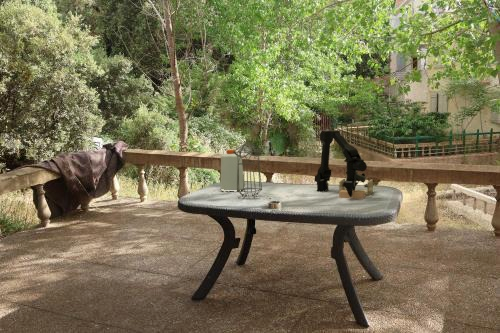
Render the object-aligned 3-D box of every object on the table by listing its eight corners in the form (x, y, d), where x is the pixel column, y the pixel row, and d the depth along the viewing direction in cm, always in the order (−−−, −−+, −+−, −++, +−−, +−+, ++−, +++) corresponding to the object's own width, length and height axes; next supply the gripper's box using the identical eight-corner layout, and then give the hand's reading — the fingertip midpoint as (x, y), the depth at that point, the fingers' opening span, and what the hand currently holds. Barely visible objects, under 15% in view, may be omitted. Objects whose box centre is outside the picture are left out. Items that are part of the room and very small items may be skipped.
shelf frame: (339, 194, 286) (339, 181, 285) (343, 190, 297) (343, 178, 296) (369, 195, 279) (369, 182, 278) (372, 191, 290) (372, 179, 289)
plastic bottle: (240, 192, 310) (238, 150, 306) (218, 192, 314) (216, 151, 310) (246, 188, 324) (244, 148, 320) (226, 188, 328) (224, 149, 325)
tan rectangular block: (339, 198, 277) (339, 191, 276) (341, 196, 282) (341, 190, 281) (362, 199, 271) (362, 192, 270) (364, 197, 276) (364, 190, 276)
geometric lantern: (233, 199, 287) (230, 143, 284) (244, 195, 301) (241, 141, 298) (256, 200, 280) (253, 142, 277) (266, 195, 295) (264, 141, 291)
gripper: (362, 172, 262) (362, 199, 264) (368, 167, 279) (368, 193, 281) (342, 171, 267) (343, 198, 269) (349, 167, 284) (350, 192, 286)
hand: (351, 195), depth 276 cm, fingers open, 7 cm apart
